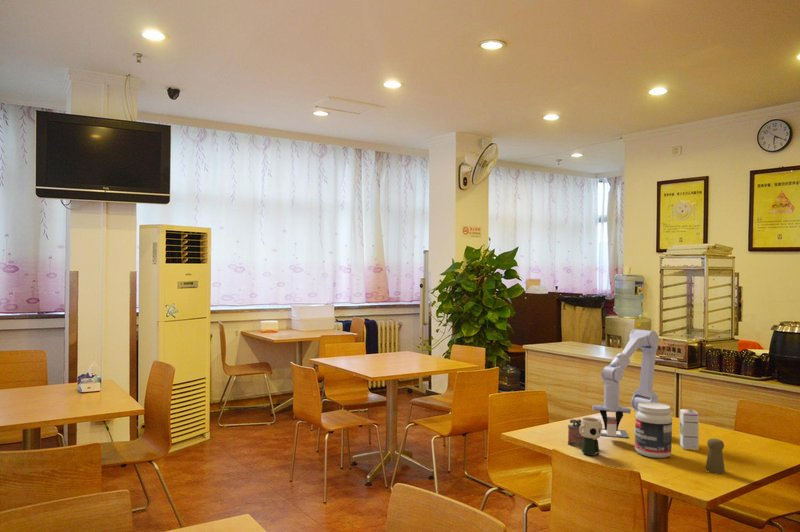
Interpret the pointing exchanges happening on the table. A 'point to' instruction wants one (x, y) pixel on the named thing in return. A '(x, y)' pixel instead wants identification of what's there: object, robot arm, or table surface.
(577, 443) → the lighter
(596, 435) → the character mug
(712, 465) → the grey pepper shaker
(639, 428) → the supplement tub
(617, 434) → the mat
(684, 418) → the syrup box
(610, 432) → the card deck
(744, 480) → the table surface
